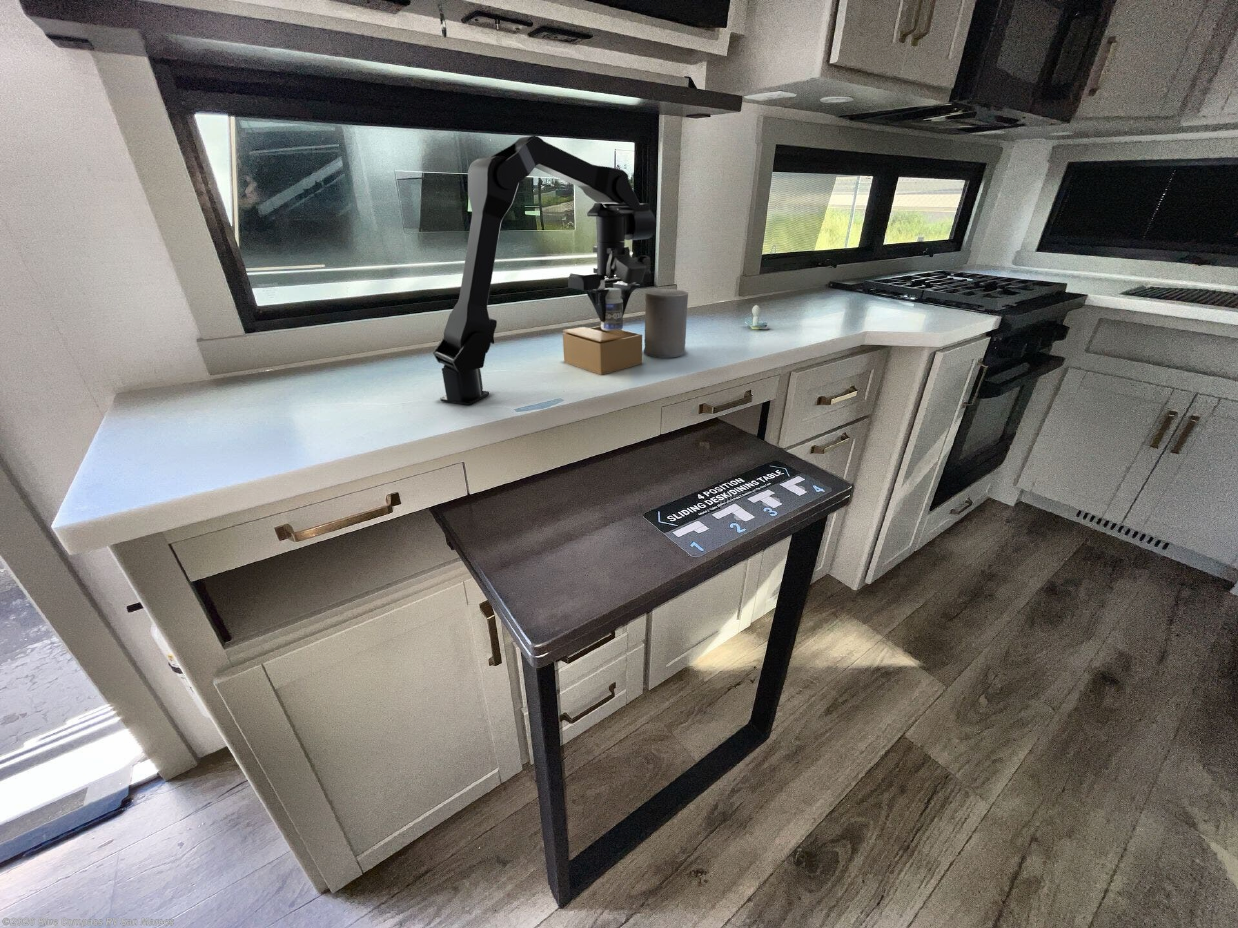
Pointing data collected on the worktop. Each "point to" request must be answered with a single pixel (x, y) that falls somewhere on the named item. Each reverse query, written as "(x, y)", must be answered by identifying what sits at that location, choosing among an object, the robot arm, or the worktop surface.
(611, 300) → the pill bottle
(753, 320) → the pacifier
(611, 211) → the robot arm
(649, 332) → the pillar candle
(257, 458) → the worktop surface
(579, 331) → the flap
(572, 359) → the carton
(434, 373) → the worktop surface
